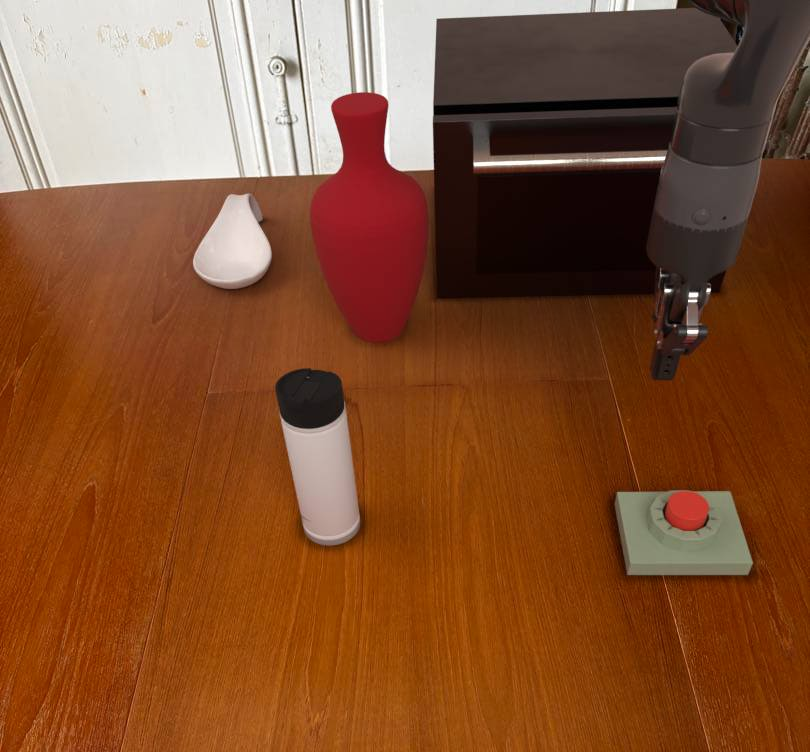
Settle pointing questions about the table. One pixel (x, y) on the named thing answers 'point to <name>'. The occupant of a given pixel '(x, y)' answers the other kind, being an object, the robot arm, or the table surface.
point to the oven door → (548, 202)
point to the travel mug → (319, 453)
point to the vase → (369, 225)
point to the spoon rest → (234, 246)
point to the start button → (687, 510)
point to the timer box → (681, 537)
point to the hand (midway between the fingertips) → (661, 375)
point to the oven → (570, 60)
